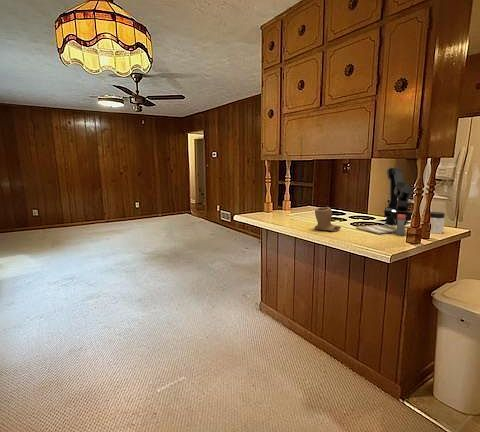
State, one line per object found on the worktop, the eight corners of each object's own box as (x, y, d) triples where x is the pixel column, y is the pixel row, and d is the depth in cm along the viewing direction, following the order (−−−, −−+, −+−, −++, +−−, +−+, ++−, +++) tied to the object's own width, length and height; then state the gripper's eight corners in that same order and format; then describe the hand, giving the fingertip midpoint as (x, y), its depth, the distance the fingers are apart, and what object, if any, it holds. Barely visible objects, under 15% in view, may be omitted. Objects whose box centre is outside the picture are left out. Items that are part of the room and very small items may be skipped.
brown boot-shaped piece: (310, 230, 192) (311, 207, 189) (319, 227, 200) (320, 205, 197) (332, 233, 181) (333, 209, 179) (341, 230, 190) (342, 207, 187)
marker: (399, 234, 179) (401, 213, 176) (405, 235, 175) (407, 214, 173) (394, 234, 177) (395, 214, 175) (400, 236, 173) (402, 215, 171)
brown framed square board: (377, 226, 201) (377, 223, 201) (402, 231, 184) (402, 229, 184) (355, 228, 194) (355, 226, 194) (379, 235, 177) (379, 232, 177)
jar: (428, 233, 180) (430, 213, 178) (424, 230, 188) (426, 211, 186) (445, 233, 178) (447, 214, 175) (440, 231, 185) (442, 212, 183)
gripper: (385, 194, 180) (383, 215, 172) (421, 196, 171) (420, 218, 163) (385, 205, 188) (383, 226, 180) (419, 207, 179) (418, 229, 171)
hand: (400, 224), depth 173 cm, fingers closed on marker, 4 cm apart
